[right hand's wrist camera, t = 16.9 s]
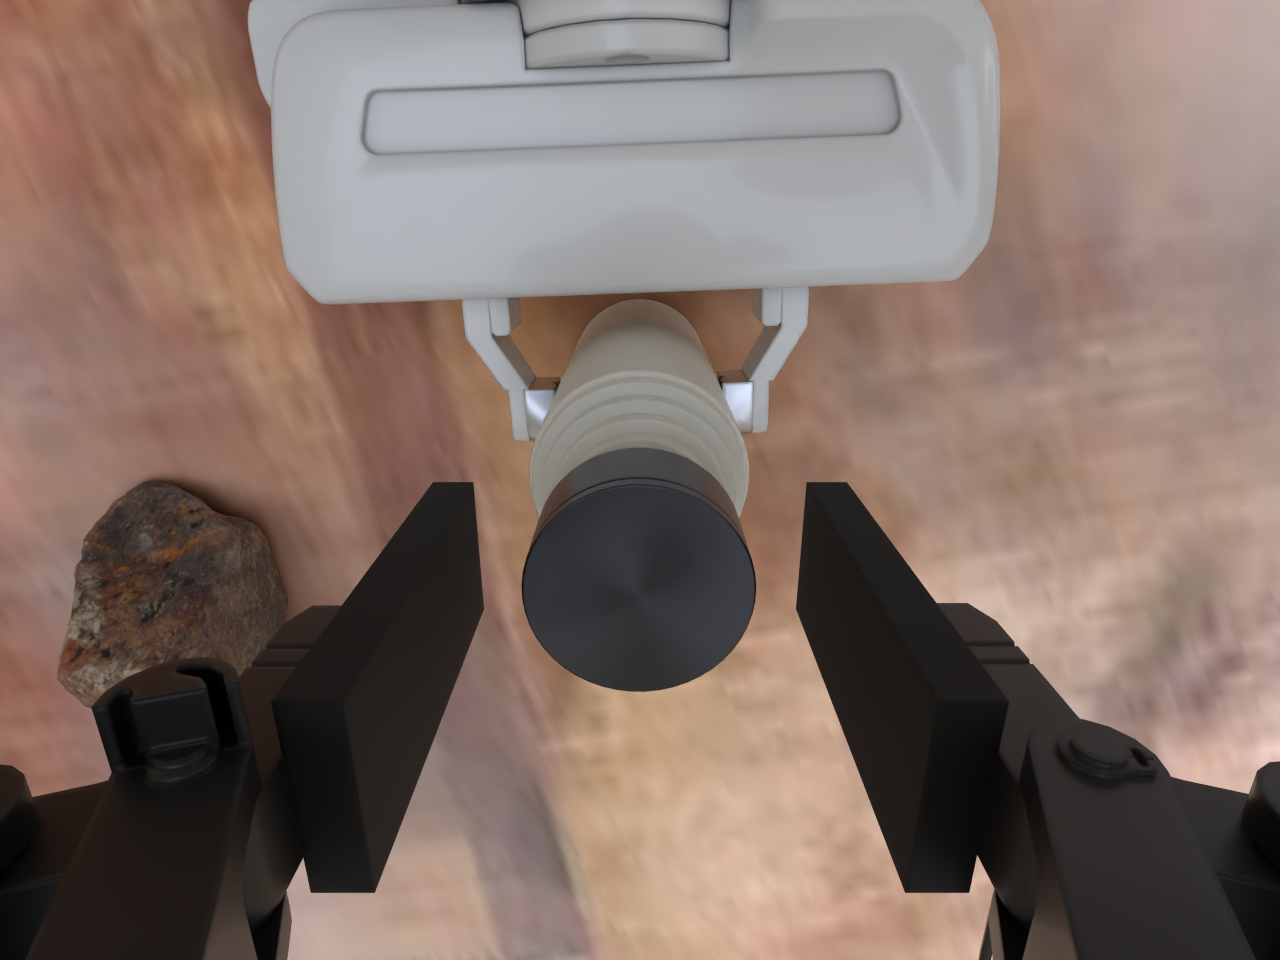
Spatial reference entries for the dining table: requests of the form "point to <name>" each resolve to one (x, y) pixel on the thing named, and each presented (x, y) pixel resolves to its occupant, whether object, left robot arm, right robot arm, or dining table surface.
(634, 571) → the cap
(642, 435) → the bottle
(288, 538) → the dining table surface
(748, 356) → the left robot arm
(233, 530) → the rock
